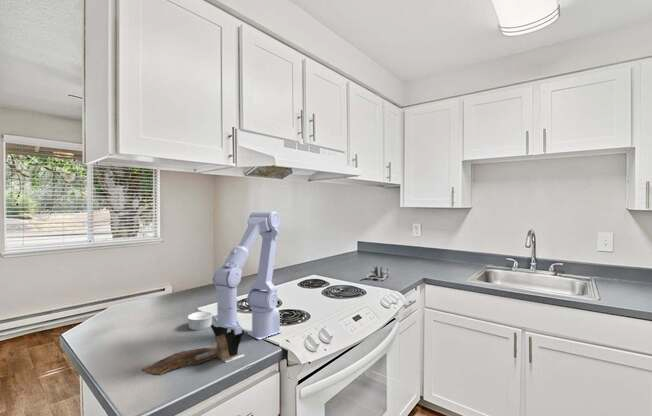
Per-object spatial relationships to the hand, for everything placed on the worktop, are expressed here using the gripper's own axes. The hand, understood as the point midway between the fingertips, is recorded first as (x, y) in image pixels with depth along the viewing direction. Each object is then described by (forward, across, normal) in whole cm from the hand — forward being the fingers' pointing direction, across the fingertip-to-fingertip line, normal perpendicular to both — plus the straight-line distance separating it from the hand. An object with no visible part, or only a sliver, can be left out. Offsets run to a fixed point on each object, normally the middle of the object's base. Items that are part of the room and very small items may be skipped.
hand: (227, 350), depth 96 cm
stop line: (+1, +4, 0) cm, 4 cm away
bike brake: (+2, -29, +115) cm, 118 cm away
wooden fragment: (+2, -6, -9) cm, 11 cm away
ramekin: (+2, -29, +4) cm, 29 cm away
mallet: (+2, 0, -3) cm, 4 cm away
